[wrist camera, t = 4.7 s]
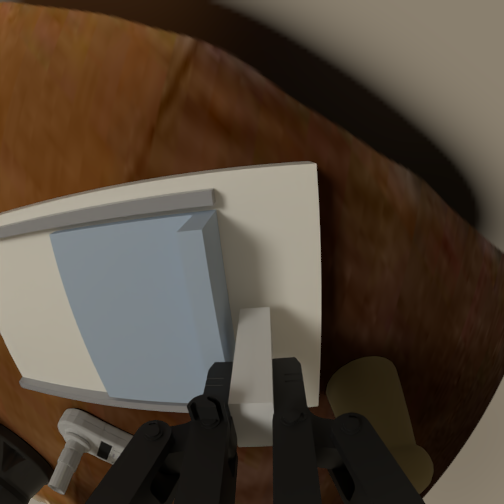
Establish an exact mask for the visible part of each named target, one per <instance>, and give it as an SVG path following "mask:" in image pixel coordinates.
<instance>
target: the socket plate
mask: <svg viewBox="0 0 504 504" xmlns="http://www.w3.org/2000/svg"><path fill="white" fill-rule="evenodd" d="M206 210H216V212H217V219H218V227H219V234H220V242H221V249H222V256H223V263H224V270H225V277H226V284H227V291H228V298H229V304H230V311H231V317H232V324H233V330H234V337H235V343H236V337H237V330H238V322H239V314H240V309H245V308H260V307H270V318H271V331H272V343H273V359H275V358H288V357H295V358H296V359H297V360H298V361H299V362H300V363H301V368H302V374H303V381H304V388H305V394H306V401H307V406H308V407H315V406H318V400H319V381H320V355H321V243H320V216H319V196H318V180H317V165H316V163H313V162H310V161H304V162H289V163H275V164H263V165H253V166H242V167H233V168H224V169H216V170H207V171H200V172H192V173H185V174H178V175H171V176H165V177H159V178H152V179H146V180H141V181H135V182H129V183H124V184H119V185H114V186H108V187H103V188H99V189H94V190H89V191H84V192H80V193H75V194H71V195H67V196H62V197H58V198H54V199H50V200H46V201H42V202H38V203H34V204H31V205H27V206H23V207H20V208H16V209H13V210H9V211H6V212H2V213H0V333H1V335H2V337H3V339H4V341H5V344H6V346H7V348H8V350H9V352H10V354H11V356H12V358H13V360H14V361H15V363H16V365H17V367H18V369H19V371H20V373H21V374H22V376H23V377H22V378H21V380H20V381H19V383H20V385H21V386H22V387H23V388H26V389H30V390H34V391H38V392H42V393H46V394H50V395H55V396H59V397H64V398H69V399H74V400H79V401H84V402H90V403H96V404H103V405H109V406H117V407H124V408H133V409H142V410H153V411H166V412H184V413H189V412H188V409H187V405H188V403H173V402H157V401H144V400H133V399H124V398H115V397H109V395H108V393H107V391H106V389H105V387H104V385H103V383H102V381H101V379H100V377H99V375H98V372H97V370H96V368H95V366H94V364H93V362H92V359H91V357H90V355H89V352H88V350H87V348H86V345H85V343H84V341H83V338H82V336H81V333H80V331H79V328H78V326H77V323H76V320H75V318H74V315H73V312H72V309H71V307H70V304H69V301H68V298H67V295H66V292H65V289H64V286H63V283H62V280H61V276H60V273H59V270H58V266H57V263H56V259H55V255H54V252H53V248H52V244H51V240H50V236H49V234H51V233H53V232H55V231H60V230H66V229H72V228H78V227H85V226H91V225H98V224H104V223H111V222H118V221H125V220H133V219H140V218H148V217H155V216H163V215H171V214H180V213H188V212H197V211H206Z"/></svg>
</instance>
